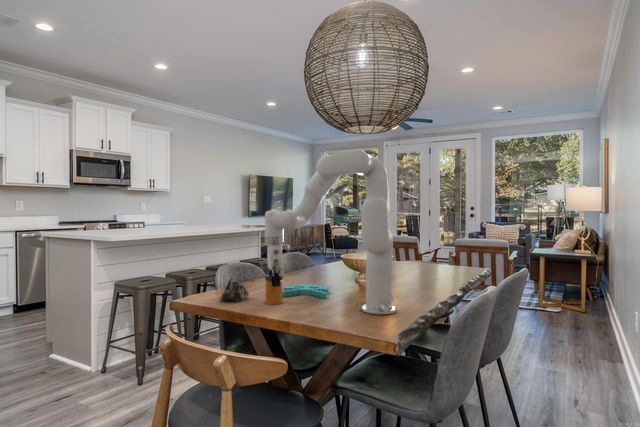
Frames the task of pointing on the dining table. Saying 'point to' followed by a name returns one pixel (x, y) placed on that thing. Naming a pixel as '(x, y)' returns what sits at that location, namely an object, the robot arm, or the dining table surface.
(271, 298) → the jar
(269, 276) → the lid
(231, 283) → the rock
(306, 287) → the alien figure
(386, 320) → the dining table surface
